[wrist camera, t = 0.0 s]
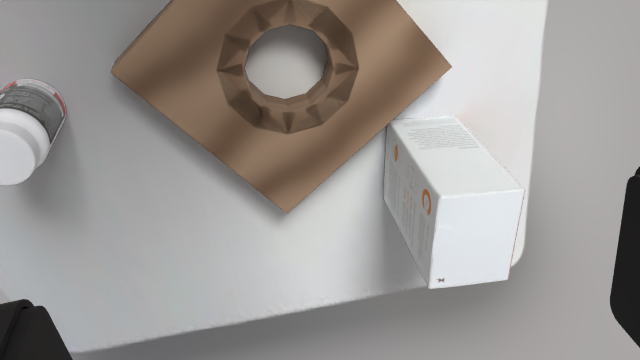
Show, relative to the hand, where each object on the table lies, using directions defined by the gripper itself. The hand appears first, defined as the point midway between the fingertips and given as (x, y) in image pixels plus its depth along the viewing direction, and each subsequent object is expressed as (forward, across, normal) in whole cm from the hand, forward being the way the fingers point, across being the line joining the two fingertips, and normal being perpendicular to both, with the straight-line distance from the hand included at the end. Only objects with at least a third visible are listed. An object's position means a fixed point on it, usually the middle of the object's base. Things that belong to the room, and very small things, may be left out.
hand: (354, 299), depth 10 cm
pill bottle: (+38, +18, +9) cm, 42 cm away
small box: (+38, -12, +20) cm, 44 cm away
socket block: (+37, -2, +9) cm, 38 cm away
